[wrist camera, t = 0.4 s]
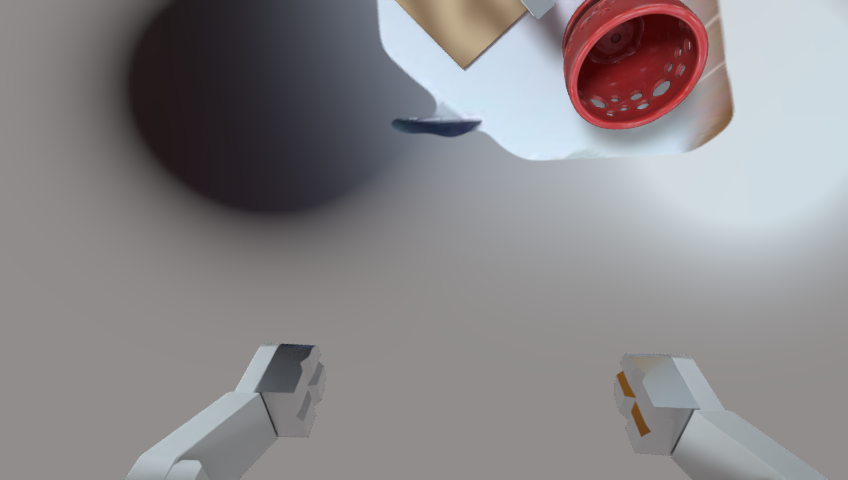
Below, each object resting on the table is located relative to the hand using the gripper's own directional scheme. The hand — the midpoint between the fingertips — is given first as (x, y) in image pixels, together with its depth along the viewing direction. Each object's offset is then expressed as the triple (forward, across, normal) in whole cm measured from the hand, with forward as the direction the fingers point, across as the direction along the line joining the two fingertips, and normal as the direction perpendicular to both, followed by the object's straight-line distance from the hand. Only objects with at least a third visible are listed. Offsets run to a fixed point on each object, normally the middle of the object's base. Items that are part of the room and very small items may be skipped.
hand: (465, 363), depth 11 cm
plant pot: (+49, -18, -4) cm, 53 cm away
